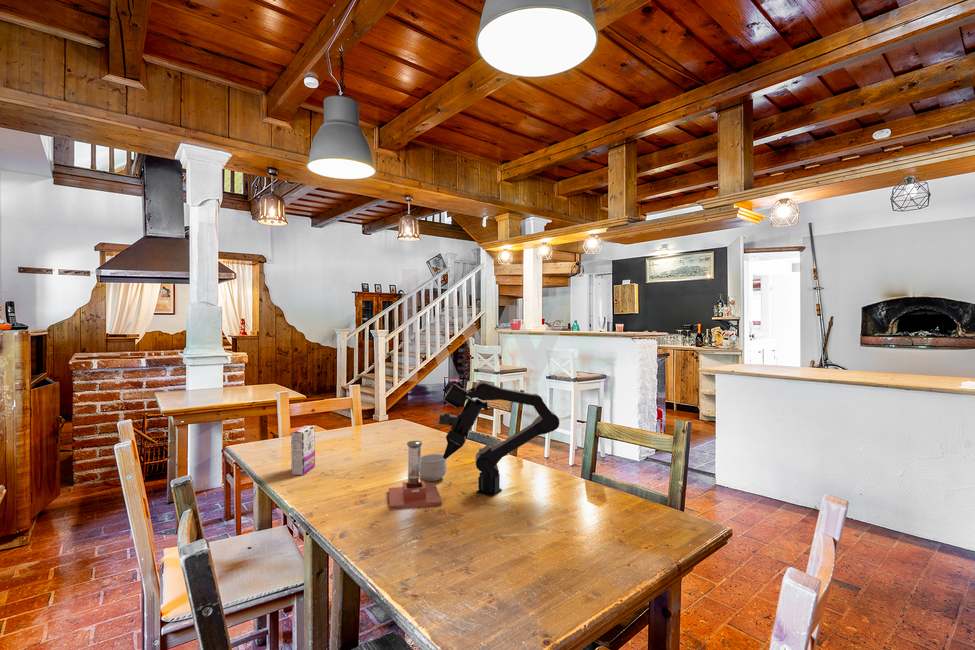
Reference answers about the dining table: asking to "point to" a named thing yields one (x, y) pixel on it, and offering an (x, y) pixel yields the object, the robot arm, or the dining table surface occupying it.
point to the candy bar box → (303, 450)
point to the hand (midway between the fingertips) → (445, 455)
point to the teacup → (433, 467)
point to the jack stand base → (414, 496)
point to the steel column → (414, 462)
